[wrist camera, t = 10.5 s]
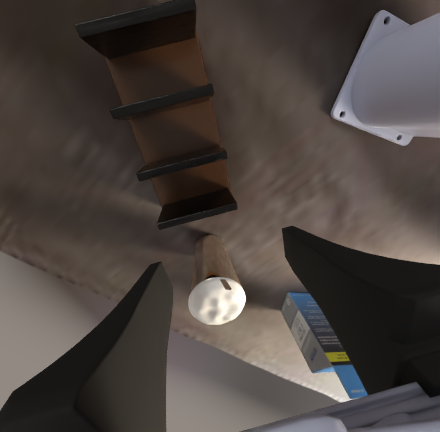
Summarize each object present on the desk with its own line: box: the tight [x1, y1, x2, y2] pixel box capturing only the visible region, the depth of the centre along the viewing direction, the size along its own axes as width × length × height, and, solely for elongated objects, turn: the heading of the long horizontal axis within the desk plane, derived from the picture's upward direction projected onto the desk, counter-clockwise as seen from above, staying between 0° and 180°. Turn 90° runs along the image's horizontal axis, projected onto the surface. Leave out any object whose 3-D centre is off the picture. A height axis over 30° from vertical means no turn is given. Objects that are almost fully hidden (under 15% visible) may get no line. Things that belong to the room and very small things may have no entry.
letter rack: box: [75, 0, 238, 230], centre depth 16 cm, size 13×7×5 cm, turn 13°
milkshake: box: [188, 234, 246, 325], centre depth 19 cm, size 4×5×10 cm
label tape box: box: [281, 292, 368, 399], centre depth 24 cm, size 9×4×12 cm, turn 80°
